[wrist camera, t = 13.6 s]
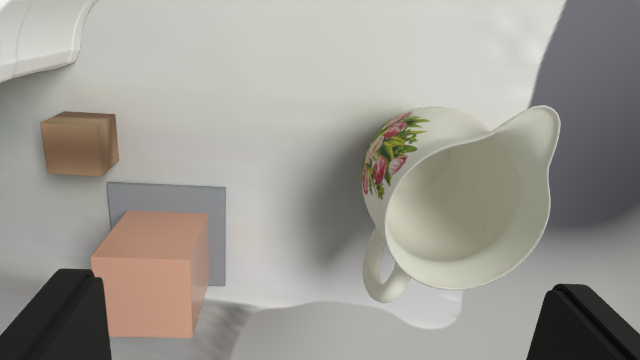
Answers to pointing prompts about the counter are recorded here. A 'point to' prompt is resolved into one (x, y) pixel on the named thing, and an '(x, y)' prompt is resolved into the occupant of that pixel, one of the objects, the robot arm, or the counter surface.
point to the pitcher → (456, 197)
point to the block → (80, 143)
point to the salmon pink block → (154, 273)
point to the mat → (177, 201)
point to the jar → (39, 35)
